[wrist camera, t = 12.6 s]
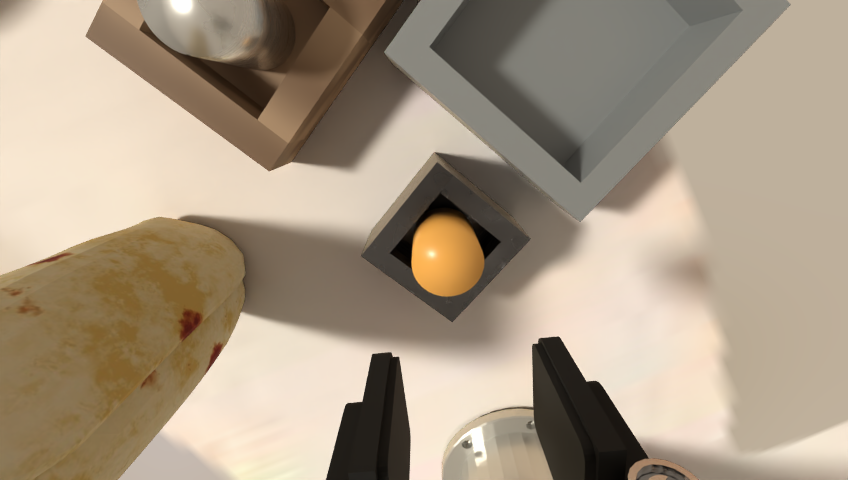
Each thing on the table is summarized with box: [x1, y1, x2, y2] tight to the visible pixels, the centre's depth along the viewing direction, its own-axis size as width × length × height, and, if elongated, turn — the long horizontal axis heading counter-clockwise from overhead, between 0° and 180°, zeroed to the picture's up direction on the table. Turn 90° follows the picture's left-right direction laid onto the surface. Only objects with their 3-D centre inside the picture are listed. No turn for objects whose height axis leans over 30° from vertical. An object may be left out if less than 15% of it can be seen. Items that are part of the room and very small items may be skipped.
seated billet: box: [137, 0, 296, 71], centre depth 20 cm, size 4×4×7 cm
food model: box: [0, 217, 245, 480], centre depth 19 cm, size 10×7×20 cm
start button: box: [412, 207, 484, 297], centre depth 23 cm, size 4×4×4 cm
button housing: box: [361, 152, 530, 322], centre depth 25 cm, size 7×7×5 cm
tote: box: [384, 0, 790, 222], centre depth 22 cm, size 14×14×5 cm
